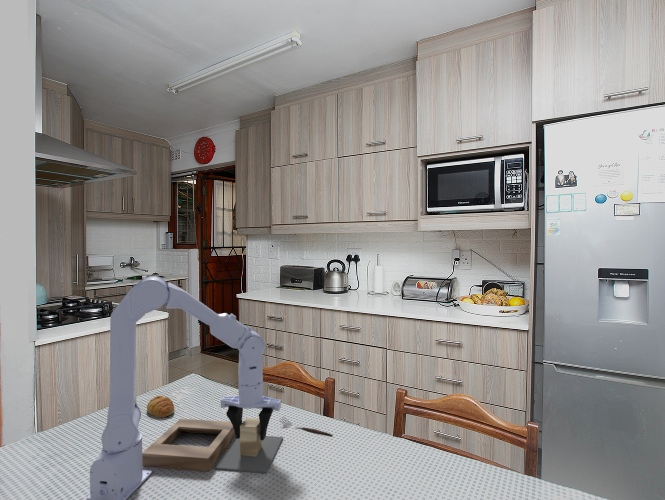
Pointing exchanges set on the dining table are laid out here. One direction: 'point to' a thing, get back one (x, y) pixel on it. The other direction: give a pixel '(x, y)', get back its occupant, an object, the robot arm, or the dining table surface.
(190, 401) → the dining table surface
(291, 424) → the fork
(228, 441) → the wooden square frame
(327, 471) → the dining table surface
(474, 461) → the dining table surface
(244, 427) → the block
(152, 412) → the pastry
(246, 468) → the mat
